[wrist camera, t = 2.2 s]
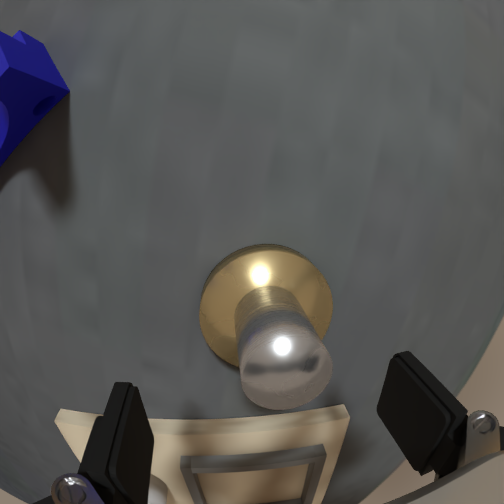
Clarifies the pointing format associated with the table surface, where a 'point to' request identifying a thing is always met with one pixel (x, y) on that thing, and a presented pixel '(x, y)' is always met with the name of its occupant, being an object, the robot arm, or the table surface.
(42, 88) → the cable clip
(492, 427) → the robot arm
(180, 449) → the carrier plate
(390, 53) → the table surface
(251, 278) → the gold and silver knob
